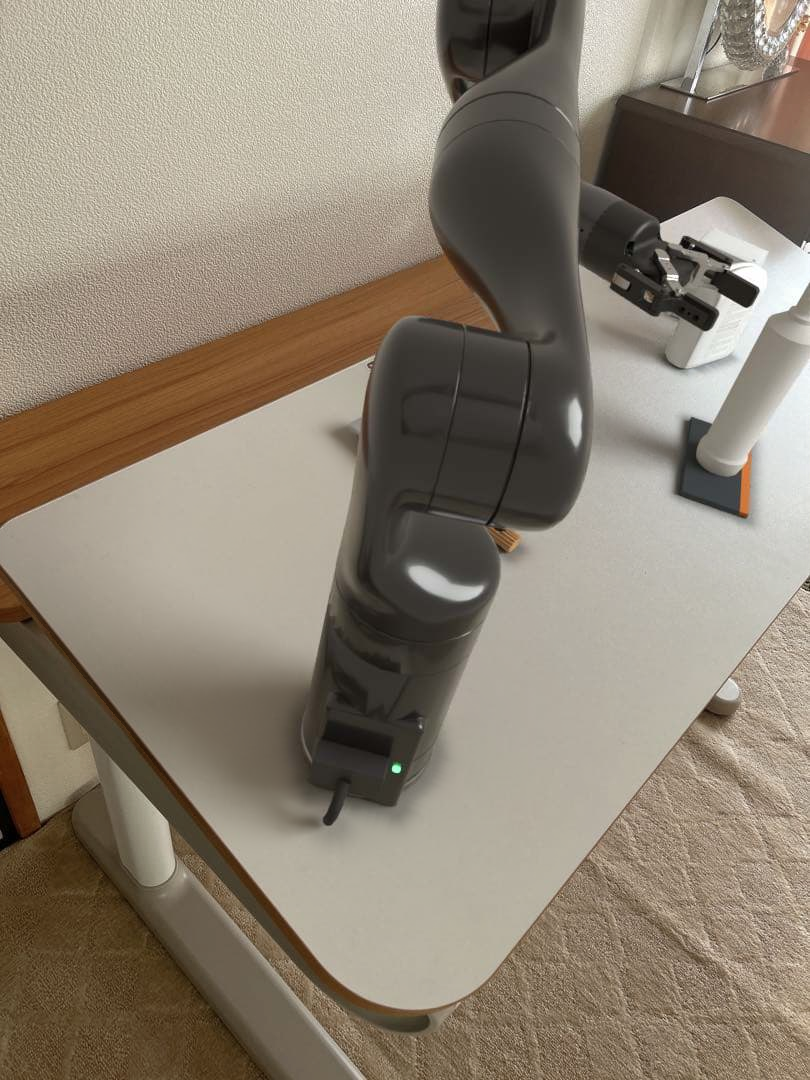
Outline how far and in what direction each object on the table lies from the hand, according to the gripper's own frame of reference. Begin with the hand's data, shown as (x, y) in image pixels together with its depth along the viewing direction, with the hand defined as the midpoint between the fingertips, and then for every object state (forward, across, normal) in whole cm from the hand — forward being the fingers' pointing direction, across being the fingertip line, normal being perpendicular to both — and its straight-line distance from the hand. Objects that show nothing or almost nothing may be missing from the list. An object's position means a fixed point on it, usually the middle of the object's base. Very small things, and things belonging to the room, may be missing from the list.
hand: (735, 310), depth 86 cm
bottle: (+6, 0, +15) cm, 16 cm away
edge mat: (+6, 0, +16) cm, 17 cm away
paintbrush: (-9, -29, +16) cm, 35 cm away
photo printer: (-7, +18, +16) cm, 25 cm away
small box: (-11, +27, +16) cm, 33 cm away
